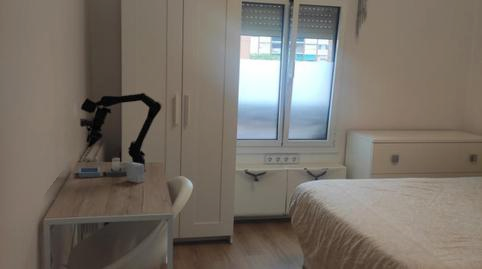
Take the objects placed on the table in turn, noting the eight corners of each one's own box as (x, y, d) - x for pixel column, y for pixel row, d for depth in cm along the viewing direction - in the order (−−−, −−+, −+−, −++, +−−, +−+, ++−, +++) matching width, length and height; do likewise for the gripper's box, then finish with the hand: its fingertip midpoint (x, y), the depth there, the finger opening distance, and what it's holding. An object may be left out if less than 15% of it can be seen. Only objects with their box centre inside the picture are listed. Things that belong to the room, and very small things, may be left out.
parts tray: (99, 171, 230) (99, 166, 230) (100, 177, 219) (100, 172, 219) (79, 172, 227) (78, 167, 227) (78, 177, 216) (78, 172, 215)
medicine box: (144, 181, 214) (144, 164, 213) (138, 183, 210) (138, 165, 209) (133, 179, 218) (133, 161, 217) (126, 180, 214) (126, 163, 213)
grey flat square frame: (125, 171, 234) (125, 167, 233) (126, 175, 224) (126, 171, 224) (105, 171, 230) (105, 168, 230) (106, 176, 221) (106, 172, 221)
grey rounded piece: (119, 172, 230) (119, 157, 229) (120, 174, 226) (120, 159, 225) (111, 172, 229) (111, 157, 227) (112, 174, 225) (112, 159, 224)
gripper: (83, 108, 235) (71, 134, 236) (86, 116, 218) (73, 144, 220) (103, 115, 240) (92, 141, 241) (107, 124, 224) (95, 151, 225)
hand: (88, 144), depth 232 cm, fingers open, 9 cm apart
